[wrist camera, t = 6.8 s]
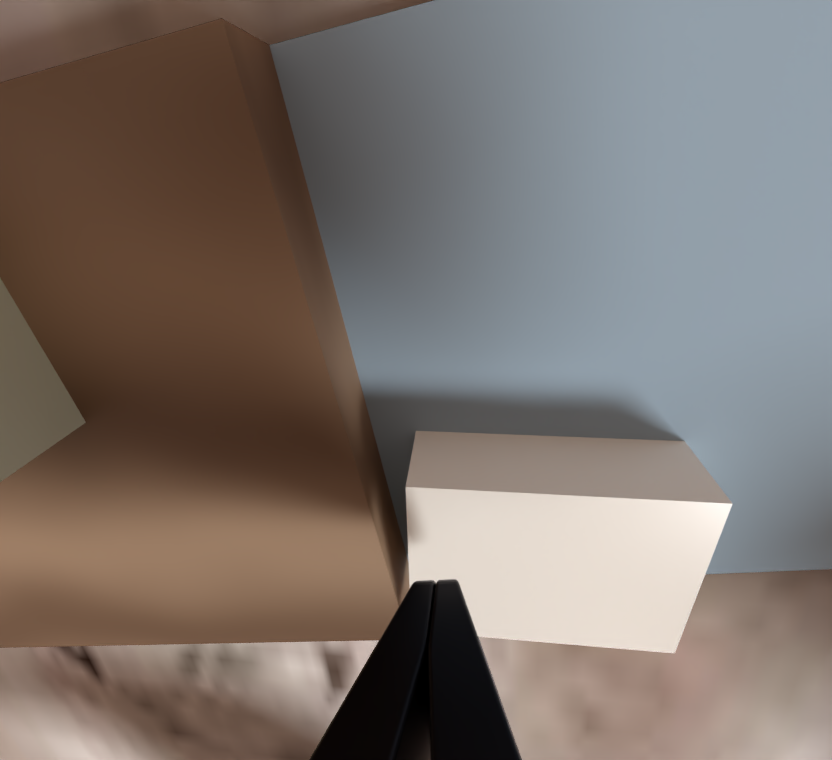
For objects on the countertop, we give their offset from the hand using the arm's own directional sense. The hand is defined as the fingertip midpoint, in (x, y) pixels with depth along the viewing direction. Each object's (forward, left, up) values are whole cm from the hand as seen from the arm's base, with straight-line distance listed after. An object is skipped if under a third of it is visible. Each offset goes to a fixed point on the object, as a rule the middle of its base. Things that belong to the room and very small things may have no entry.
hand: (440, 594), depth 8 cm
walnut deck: (+3, +8, -4) cm, 10 cm away
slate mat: (+3, -6, -4) cm, 7 cm away
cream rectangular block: (-1, -2, -3) cm, 4 cm away
